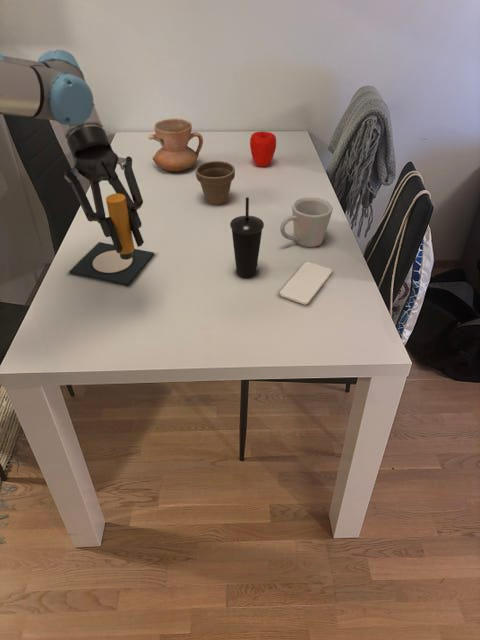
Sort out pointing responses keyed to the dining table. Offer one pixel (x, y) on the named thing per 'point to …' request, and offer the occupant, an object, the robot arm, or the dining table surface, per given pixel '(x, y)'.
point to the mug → (308, 221)
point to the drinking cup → (246, 242)
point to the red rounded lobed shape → (262, 147)
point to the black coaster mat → (111, 264)
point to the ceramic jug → (175, 144)
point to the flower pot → (215, 180)
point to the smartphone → (305, 283)
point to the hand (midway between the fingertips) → (130, 247)
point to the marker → (121, 223)
